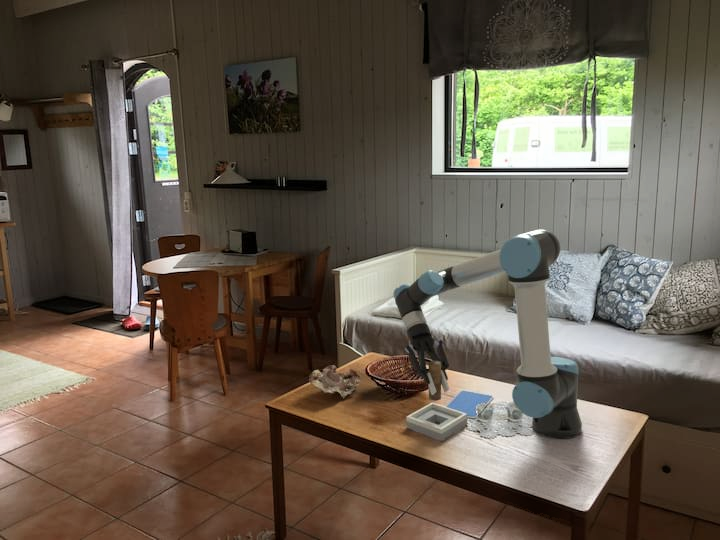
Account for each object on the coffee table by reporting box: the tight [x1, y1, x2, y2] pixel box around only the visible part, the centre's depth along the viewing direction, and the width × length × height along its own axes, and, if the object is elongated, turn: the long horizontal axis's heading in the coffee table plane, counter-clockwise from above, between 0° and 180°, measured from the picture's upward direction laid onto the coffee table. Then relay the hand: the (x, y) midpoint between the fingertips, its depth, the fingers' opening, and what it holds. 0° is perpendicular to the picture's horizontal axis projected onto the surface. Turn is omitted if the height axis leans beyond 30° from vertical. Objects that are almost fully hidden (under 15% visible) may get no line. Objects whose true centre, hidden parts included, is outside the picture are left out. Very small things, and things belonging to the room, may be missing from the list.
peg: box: [428, 360, 442, 402], centre depth 196 cm, size 4×4×12 cm
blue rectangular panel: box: [445, 390, 494, 419], centre depth 214 cm, size 19×13×1 cm, turn 150°
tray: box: [405, 402, 468, 442], centre depth 198 cm, size 14×14×4 cm
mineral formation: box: [308, 364, 362, 399], centre depth 228 cm, size 23×16×10 cm
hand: (440, 391), depth 193 cm, fingers closed on peg, 4 cm apart
